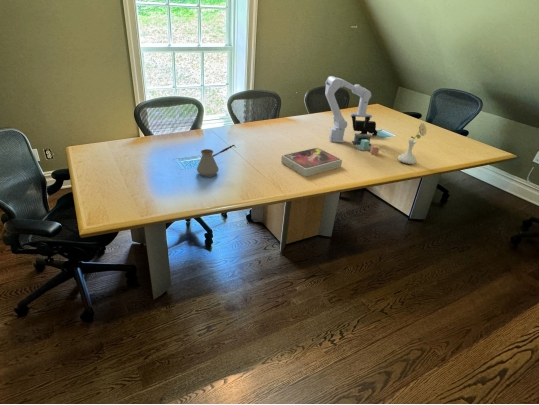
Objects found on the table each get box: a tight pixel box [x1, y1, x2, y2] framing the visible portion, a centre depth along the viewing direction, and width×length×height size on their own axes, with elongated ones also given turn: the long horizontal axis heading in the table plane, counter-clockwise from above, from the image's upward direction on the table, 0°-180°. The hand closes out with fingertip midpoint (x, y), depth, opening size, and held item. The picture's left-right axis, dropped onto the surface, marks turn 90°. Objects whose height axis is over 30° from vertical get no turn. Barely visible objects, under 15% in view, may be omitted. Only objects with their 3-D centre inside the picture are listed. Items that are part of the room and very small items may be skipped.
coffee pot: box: [196, 144, 237, 178], centre depth 181 cm, size 21×12×15 cm, turn 115°
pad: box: [354, 145, 371, 152], centre depth 229 cm, size 10×8×1 cm
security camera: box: [352, 119, 378, 137], centre depth 250 cm, size 7×18×10 cm, turn 89°
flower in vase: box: [397, 122, 428, 165], centre depth 207 cm, size 13×11×25 cm
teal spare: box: [360, 139, 371, 149], centre depth 227 cm, size 4×4×5 cm
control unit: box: [351, 133, 372, 147], centre depth 234 cm, size 12×5×6 cm, turn 88°
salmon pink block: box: [369, 144, 380, 156], centre depth 221 cm, size 4×4×5 cm
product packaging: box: [280, 146, 343, 178], centre depth 200 cm, size 22×28×5 cm
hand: (358, 127), depth 238 cm, fingers open, 7 cm apart
